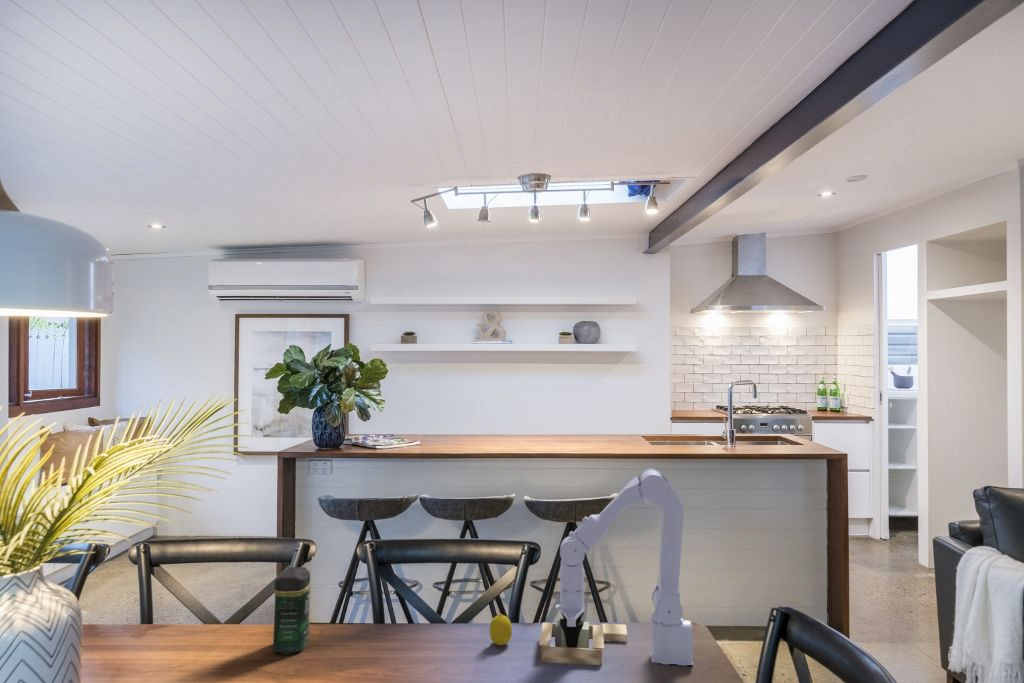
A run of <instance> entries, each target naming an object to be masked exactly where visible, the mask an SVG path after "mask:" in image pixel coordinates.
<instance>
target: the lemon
mask: <svg viewBox="0 0 1024 683" xmlns="http://www.w3.org/2000/svg"><path fill="white" fill-rule="evenodd" d="M512 634H513V628H512V623H511V620H510V619H509V617H508V616H506V615H504V614H502V613H500V614H498V615H496V616H494V617H493V618H492V620H491V621H490V625H489V637H490V640H491V641H492V642H493V643H494V644H495V645H497V646H498V647H499V646H500V647H501V646H502V647H503V646H504V645H507V644H508V643H509V642H510V641H511V639H512V636H513V635H512Z"/></svg>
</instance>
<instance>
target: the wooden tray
mask: <svg viewBox="0 0 1024 683" xmlns="http://www.w3.org/2000/svg"><path fill="white" fill-rule="evenodd" d="M555 624H556V622H555V623H554V622H542V626H541V632H540V637H539V638H540V639H539V642H538V643H539V644H538V646H539V647H540V656H541V657H540V662H541V663H552V664H553V663H555V664H571V665H573V664H574V665H589V666H591V665H592V666H602V665H603V650H605V641H604V638H603V625H602V624H589V639H593V649H589V648H570V647H551V646H550V642H551V637H555Z"/></svg>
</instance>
